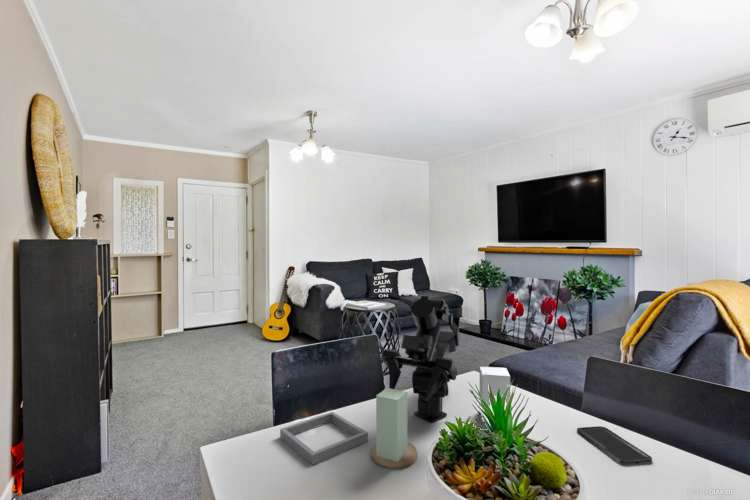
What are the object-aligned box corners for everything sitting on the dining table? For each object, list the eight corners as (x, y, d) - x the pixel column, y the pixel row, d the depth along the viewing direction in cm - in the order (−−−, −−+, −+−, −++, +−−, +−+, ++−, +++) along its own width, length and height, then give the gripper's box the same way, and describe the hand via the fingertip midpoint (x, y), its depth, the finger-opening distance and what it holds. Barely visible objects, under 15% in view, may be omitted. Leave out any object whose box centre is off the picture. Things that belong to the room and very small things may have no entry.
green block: (387, 445, 85) (387, 387, 85) (407, 451, 83) (407, 391, 83) (376, 455, 81) (376, 395, 81) (397, 462, 79) (397, 400, 78)
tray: (332, 419, 101) (332, 411, 101) (367, 441, 89) (367, 432, 89) (280, 437, 91) (280, 429, 91) (312, 464, 79) (312, 455, 79)
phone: (603, 426, 95) (654, 459, 80) (603, 430, 95) (654, 464, 80) (574, 428, 94) (621, 461, 79) (574, 432, 94) (621, 467, 79)
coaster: (395, 439, 90) (395, 434, 90) (426, 456, 82) (426, 452, 82) (362, 454, 84) (362, 449, 84) (393, 474, 76) (393, 469, 76)
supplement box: (511, 425, 97) (511, 376, 97) (481, 422, 98) (481, 374, 98) (506, 413, 104) (506, 367, 104) (479, 410, 106) (479, 365, 106)
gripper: (383, 318, 98) (361, 372, 89) (453, 325, 89) (436, 387, 80) (397, 341, 105) (378, 394, 96) (463, 350, 96) (448, 410, 87)
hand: (407, 396), depth 89 cm, fingers open, 9 cm apart
